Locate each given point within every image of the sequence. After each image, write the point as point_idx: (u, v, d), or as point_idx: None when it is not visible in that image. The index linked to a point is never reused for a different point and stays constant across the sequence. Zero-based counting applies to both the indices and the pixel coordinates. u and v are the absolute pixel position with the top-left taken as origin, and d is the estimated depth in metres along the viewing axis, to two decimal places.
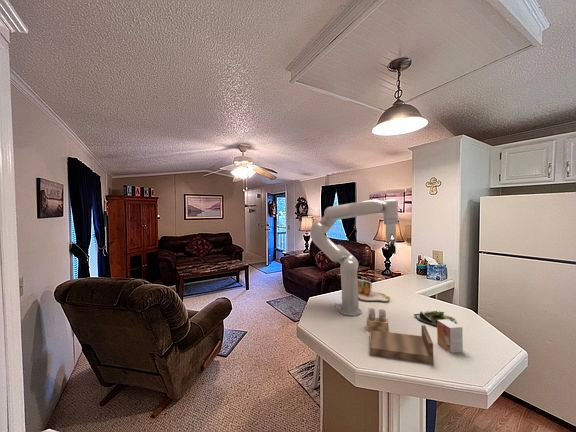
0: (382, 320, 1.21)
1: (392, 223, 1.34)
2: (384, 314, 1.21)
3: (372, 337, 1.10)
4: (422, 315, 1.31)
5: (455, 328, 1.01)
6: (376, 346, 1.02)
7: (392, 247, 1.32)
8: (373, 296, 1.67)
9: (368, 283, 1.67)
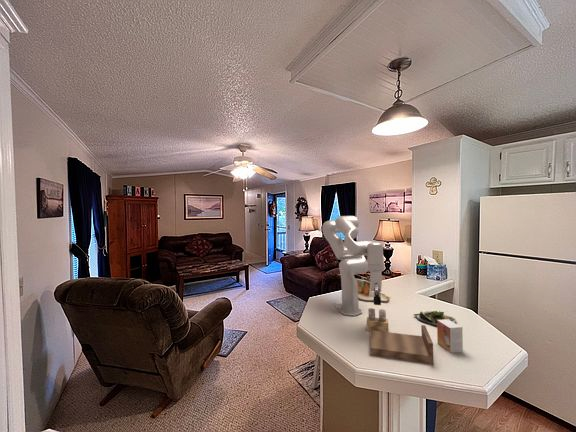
0: (382, 320, 1.21)
1: (377, 270, 1.19)
2: (384, 314, 1.21)
3: (372, 337, 1.10)
4: (422, 315, 1.31)
5: (455, 328, 1.01)
6: (376, 346, 1.02)
7: (377, 298, 1.17)
8: (373, 296, 1.67)
9: (368, 283, 1.67)
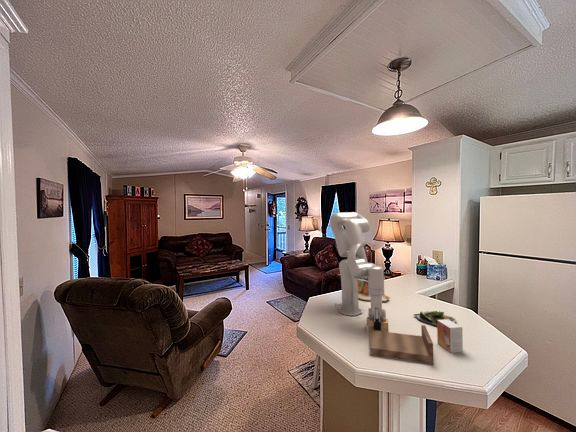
0: (382, 320, 1.21)
1: (377, 295, 1.20)
2: (384, 314, 1.21)
3: (372, 337, 1.10)
4: (422, 315, 1.31)
5: (455, 328, 1.01)
6: (376, 346, 1.02)
7: (377, 323, 1.20)
8: None
9: (367, 283, 1.68)
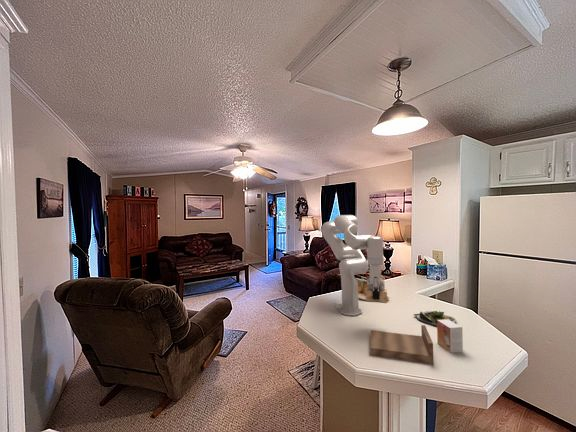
0: (381, 289, 1.21)
1: (376, 264, 1.20)
2: (383, 284, 1.21)
3: (372, 337, 1.10)
4: (422, 315, 1.31)
5: (455, 328, 1.01)
6: (376, 346, 1.02)
7: (376, 292, 1.20)
8: None
9: None
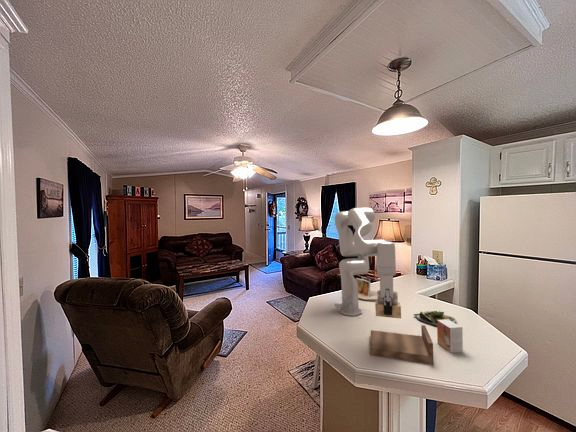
0: (393, 303, 1.04)
1: (388, 274, 1.03)
2: (396, 296, 1.04)
3: (372, 337, 1.10)
4: (422, 315, 1.31)
5: (455, 328, 1.01)
6: (376, 346, 1.02)
7: (388, 307, 1.03)
8: (372, 296, 1.68)
9: (367, 282, 1.69)
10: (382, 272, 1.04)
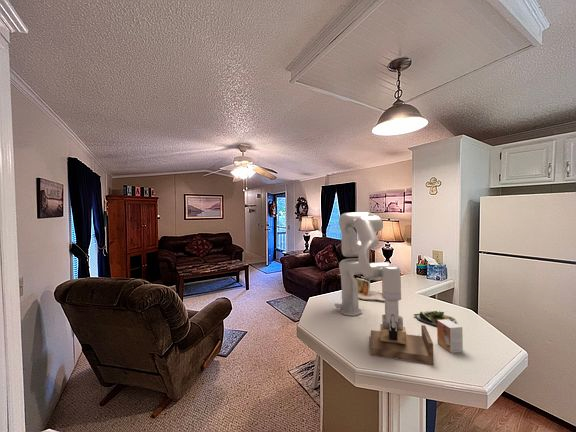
0: (399, 328, 1.04)
1: (393, 299, 1.03)
2: (401, 321, 1.04)
3: (372, 337, 1.10)
4: (422, 315, 1.31)
5: (455, 328, 1.01)
6: (376, 346, 1.02)
7: (393, 332, 1.03)
8: (372, 295, 1.68)
9: (367, 282, 1.69)
10: (387, 297, 1.04)
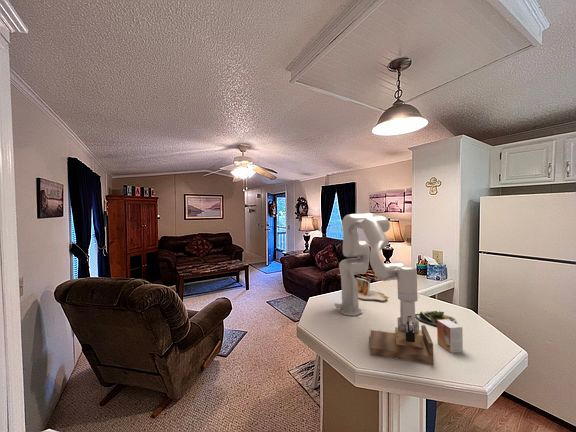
0: (415, 332, 1.02)
1: (410, 300, 1.00)
2: (417, 325, 1.02)
3: (372, 337, 1.10)
4: (422, 315, 1.31)
5: (455, 328, 1.01)
6: (376, 346, 1.02)
7: (410, 334, 0.99)
8: (372, 295, 1.68)
9: (366, 282, 1.69)
10: (404, 298, 1.02)
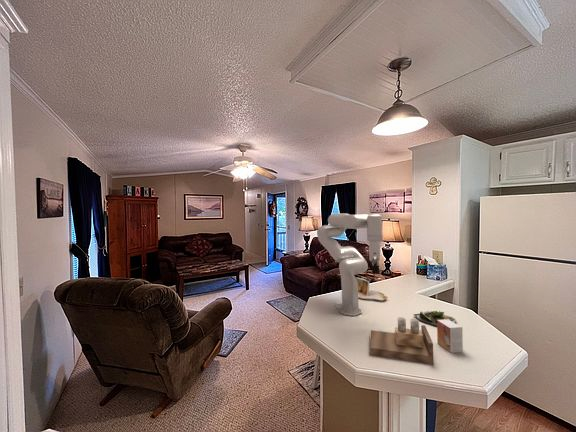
0: (415, 332, 1.02)
1: (376, 240, 1.23)
2: (417, 325, 1.02)
3: (372, 337, 1.10)
4: (422, 315, 1.31)
5: (455, 328, 1.01)
6: (376, 346, 1.02)
7: (375, 267, 1.22)
8: (371, 295, 1.69)
9: (366, 282, 1.70)
10: (371, 239, 1.24)
